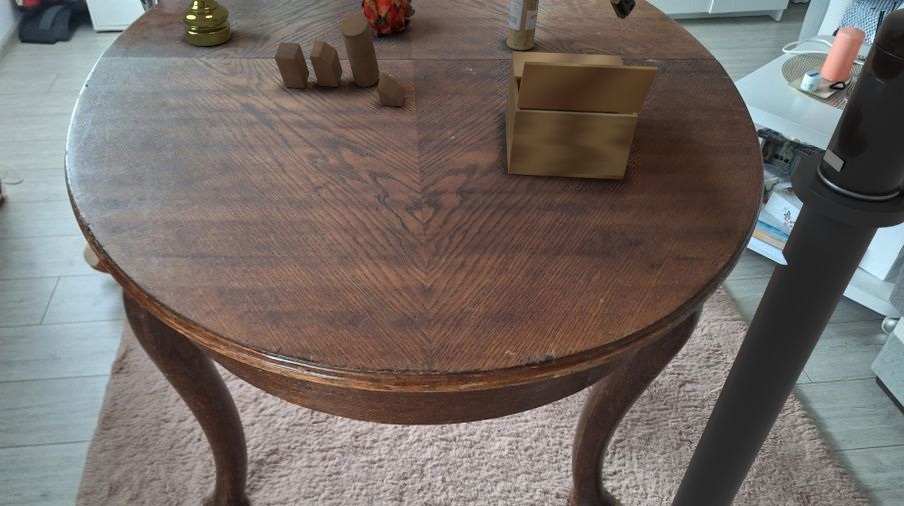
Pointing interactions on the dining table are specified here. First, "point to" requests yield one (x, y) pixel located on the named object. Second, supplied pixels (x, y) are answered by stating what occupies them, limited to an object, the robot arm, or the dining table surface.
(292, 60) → the wooden block set
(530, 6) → the sprinkles bottle
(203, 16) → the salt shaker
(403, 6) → the dragon fruit
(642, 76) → the flap
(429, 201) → the dining table surface
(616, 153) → the carton
